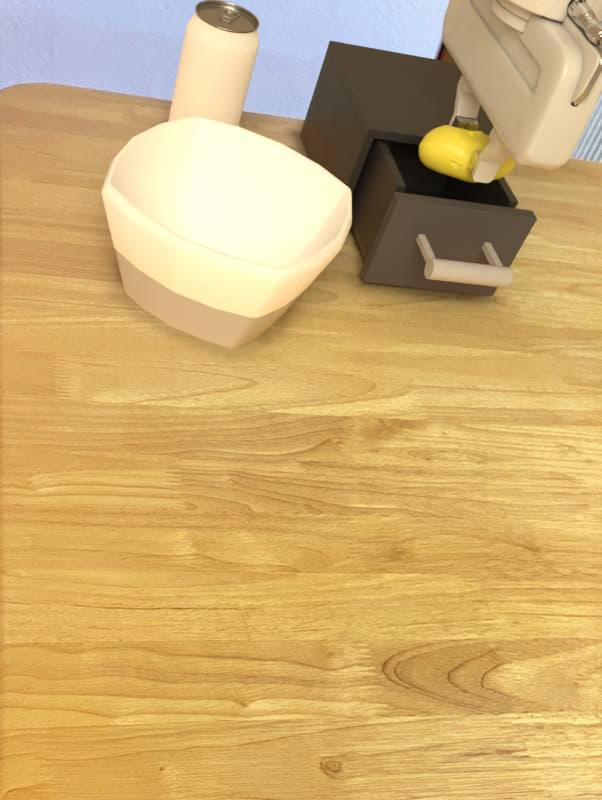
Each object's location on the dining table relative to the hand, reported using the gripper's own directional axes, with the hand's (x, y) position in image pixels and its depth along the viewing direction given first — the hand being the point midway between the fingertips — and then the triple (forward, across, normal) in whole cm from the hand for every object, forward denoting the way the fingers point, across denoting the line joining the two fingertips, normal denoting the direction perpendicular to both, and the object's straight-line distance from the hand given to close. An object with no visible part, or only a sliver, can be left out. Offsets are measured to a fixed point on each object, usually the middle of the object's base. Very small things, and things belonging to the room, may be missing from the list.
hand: (467, 157), depth 71 cm
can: (+11, +16, +18) cm, 26 cm away
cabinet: (+11, +12, 0) cm, 16 cm away
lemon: (+2, 0, 0) cm, 2 cm away
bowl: (+11, -6, +20) cm, 24 cm away
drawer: (+10, +1, 0) cm, 10 cm away
